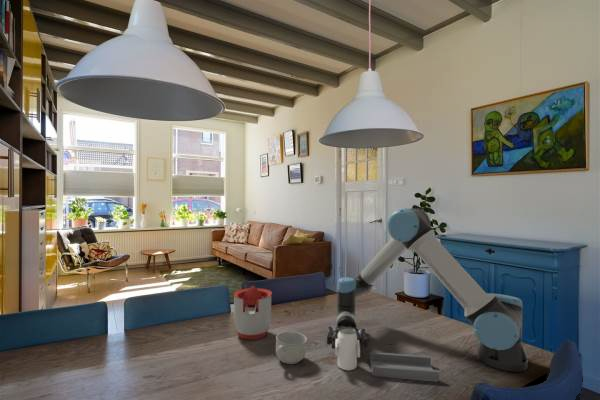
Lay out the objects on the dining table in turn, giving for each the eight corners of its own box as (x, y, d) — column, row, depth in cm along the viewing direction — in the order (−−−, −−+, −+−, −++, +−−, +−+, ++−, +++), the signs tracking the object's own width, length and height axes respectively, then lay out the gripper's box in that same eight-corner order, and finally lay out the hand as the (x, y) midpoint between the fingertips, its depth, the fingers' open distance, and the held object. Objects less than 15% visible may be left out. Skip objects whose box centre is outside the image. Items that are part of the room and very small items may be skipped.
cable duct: (429, 364, 112) (429, 356, 112) (438, 381, 101) (438, 372, 101) (369, 360, 114) (370, 351, 114) (372, 376, 104) (372, 367, 104)
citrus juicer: (228, 344, 125) (229, 292, 125) (236, 326, 142) (236, 280, 142) (270, 344, 125) (270, 292, 125) (272, 326, 143) (273, 281, 142)
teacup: (289, 349, 121) (289, 328, 121) (312, 359, 114) (313, 336, 114) (262, 364, 111) (262, 340, 111) (286, 375, 104) (286, 350, 104)
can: (350, 360, 114) (351, 325, 114) (360, 369, 108) (360, 332, 108) (333, 363, 112) (334, 328, 112) (343, 372, 106) (343, 335, 106)
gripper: (371, 336, 127) (378, 366, 104) (321, 332, 129) (317, 361, 106) (372, 316, 127) (378, 342, 104) (321, 313, 129) (317, 338, 106)
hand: (347, 352), depth 105 cm, fingers closed on can, 6 cm apart
